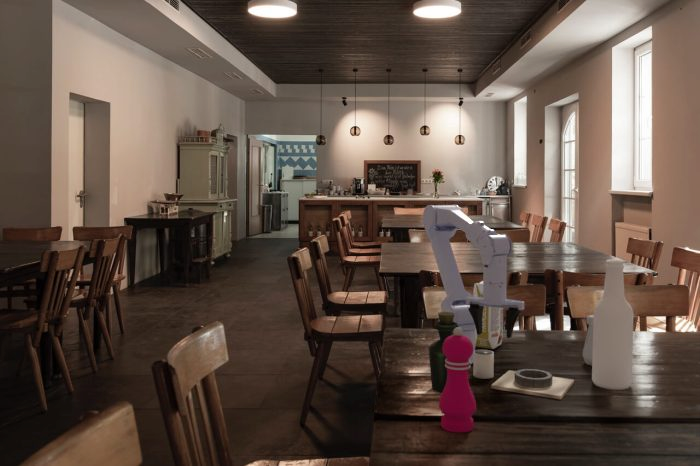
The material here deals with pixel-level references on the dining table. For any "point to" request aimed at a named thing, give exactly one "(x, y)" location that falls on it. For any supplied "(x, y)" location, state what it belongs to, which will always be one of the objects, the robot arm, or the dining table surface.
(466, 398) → the pepper mill
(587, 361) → the salt shaker
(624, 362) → the alcohol
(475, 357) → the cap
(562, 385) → the stand
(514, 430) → the dining table surface
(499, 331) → the juice carton
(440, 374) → the potion bottle
